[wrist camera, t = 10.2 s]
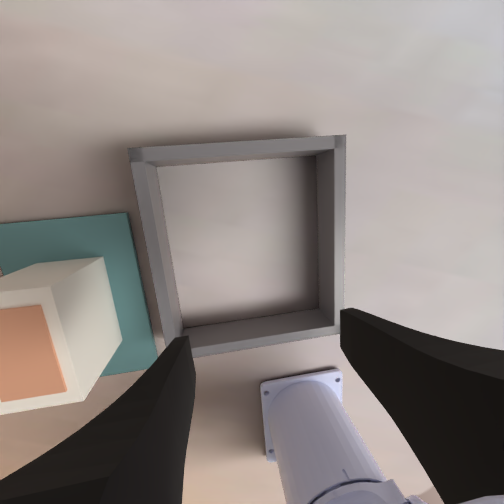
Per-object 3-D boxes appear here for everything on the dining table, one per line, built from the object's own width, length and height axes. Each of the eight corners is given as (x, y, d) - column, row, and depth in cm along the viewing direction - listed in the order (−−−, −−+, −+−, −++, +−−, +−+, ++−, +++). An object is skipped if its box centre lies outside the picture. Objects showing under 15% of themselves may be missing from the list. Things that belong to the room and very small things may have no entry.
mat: (159, 363, 21) (158, 367, 21) (45, 382, 20) (42, 386, 20) (127, 212, 18) (126, 212, 18) (-9, 224, 17) (-14, 225, 16)
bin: (327, 315, 22) (344, 333, 20) (175, 338, 21) (168, 361, 18) (326, 143, 19) (346, 134, 16) (142, 155, 17) (127, 148, 14)
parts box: (103, 256, 18) (48, 287, 12) (122, 340, 20) (82, 403, 14) (36, 263, 17) (-56, 299, 12) (62, 348, 19) (-7, 418, 13)
